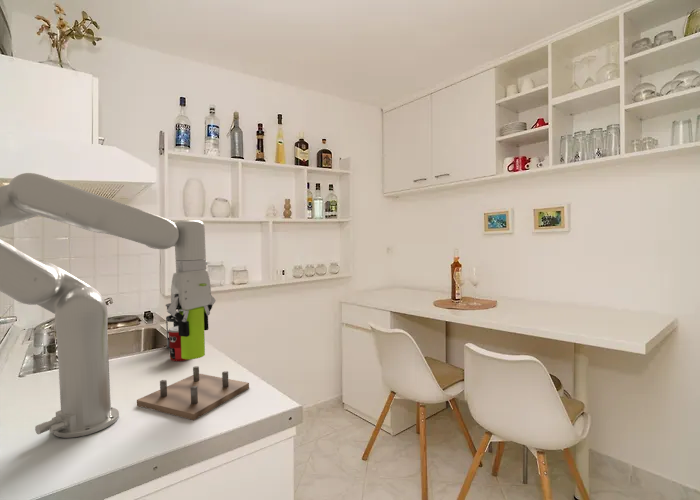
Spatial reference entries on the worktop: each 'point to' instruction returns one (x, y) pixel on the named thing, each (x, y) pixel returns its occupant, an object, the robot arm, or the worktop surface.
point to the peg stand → (193, 395)
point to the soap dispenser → (194, 334)
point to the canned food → (175, 344)
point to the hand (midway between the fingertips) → (194, 332)
